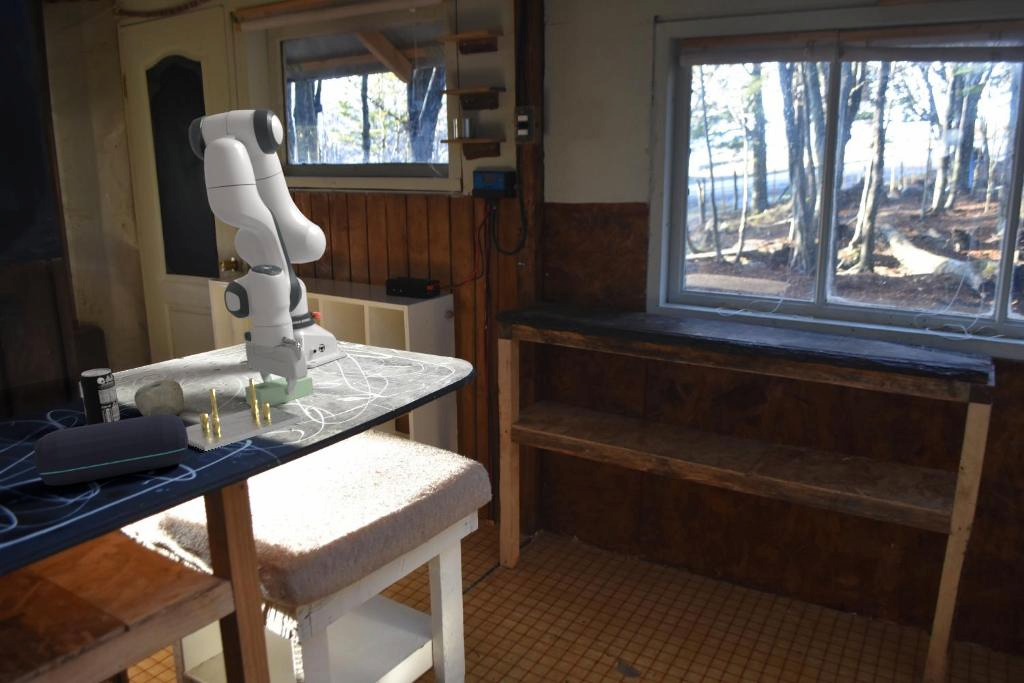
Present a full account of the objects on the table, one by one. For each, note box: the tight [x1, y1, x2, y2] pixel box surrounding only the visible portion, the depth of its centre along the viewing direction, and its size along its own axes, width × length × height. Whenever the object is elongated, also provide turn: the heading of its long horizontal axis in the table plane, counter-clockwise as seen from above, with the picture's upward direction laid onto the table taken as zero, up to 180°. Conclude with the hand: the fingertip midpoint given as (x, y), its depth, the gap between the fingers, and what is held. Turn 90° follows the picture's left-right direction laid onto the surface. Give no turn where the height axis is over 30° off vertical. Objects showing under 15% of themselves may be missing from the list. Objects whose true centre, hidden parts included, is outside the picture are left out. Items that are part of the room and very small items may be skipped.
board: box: [244, 375, 314, 407], centre depth 189 cm, size 14×6×4 cm, turn 139°
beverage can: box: [79, 368, 121, 425], centre depth 174 cm, size 7×7×12 cm
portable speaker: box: [33, 414, 189, 487], centre depth 146 cm, size 25×10×10 cm, turn 115°
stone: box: [134, 379, 185, 416], centre depth 180 cm, size 10×10×10 cm
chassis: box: [185, 378, 302, 452], centre depth 168 cm, size 22×14×10 cm, turn 139°
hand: (279, 391), depth 189 cm, fingers open, 7 cm apart
